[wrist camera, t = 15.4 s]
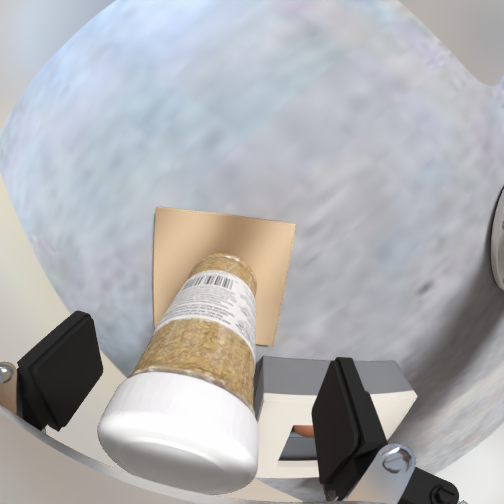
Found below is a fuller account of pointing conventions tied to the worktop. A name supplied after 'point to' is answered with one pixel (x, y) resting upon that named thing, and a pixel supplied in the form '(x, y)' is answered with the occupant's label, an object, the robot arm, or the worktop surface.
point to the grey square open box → (300, 407)
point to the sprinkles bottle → (193, 388)
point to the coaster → (222, 241)
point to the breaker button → (304, 430)
